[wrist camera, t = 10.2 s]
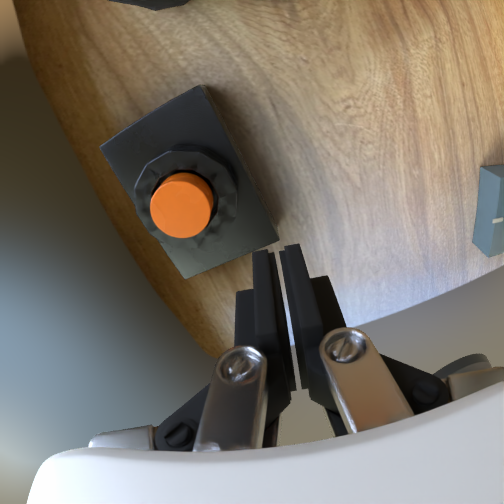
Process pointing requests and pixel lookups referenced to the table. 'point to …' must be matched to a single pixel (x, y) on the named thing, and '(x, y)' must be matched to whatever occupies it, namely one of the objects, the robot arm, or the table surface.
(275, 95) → the table surface
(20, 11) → the table surface
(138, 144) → the button block
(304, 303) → the robot arm
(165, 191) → the button
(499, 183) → the panel
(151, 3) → the portable speaker
